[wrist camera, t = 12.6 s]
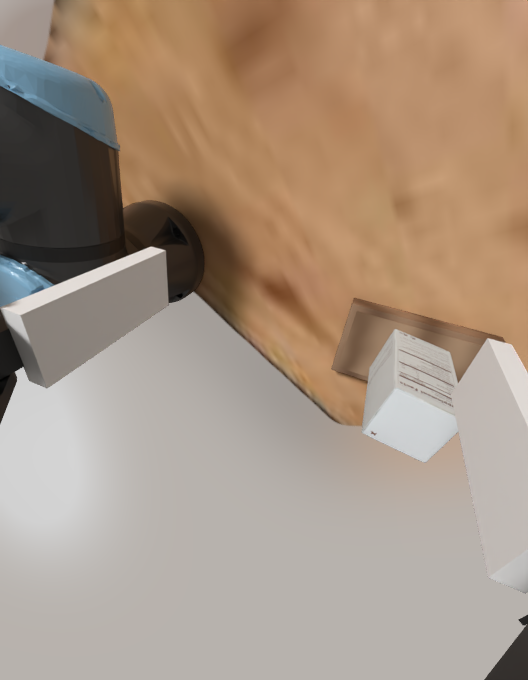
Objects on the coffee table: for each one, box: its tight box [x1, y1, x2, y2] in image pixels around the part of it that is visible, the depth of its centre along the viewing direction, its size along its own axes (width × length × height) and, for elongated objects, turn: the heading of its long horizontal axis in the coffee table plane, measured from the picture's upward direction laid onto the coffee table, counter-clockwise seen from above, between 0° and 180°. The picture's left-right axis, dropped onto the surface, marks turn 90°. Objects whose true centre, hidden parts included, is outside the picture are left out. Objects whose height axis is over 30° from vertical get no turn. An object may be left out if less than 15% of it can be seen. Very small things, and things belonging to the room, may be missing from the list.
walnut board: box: [331, 298, 505, 383], centre depth 42 cm, size 18×11×2 cm, turn 81°
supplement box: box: [362, 329, 458, 463], centre depth 36 cm, size 7×7×13 cm
